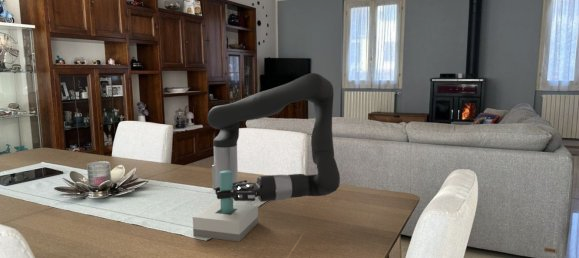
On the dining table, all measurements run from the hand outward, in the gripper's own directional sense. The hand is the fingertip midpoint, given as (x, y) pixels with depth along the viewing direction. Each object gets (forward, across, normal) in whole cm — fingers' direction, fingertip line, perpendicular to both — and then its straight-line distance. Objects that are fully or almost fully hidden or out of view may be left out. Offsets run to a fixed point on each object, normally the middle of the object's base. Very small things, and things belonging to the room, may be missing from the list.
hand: (216, 193), depth 111 cm
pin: (-3, 0, +8) cm, 8 cm away
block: (-3, 0, +11) cm, 11 cm away
